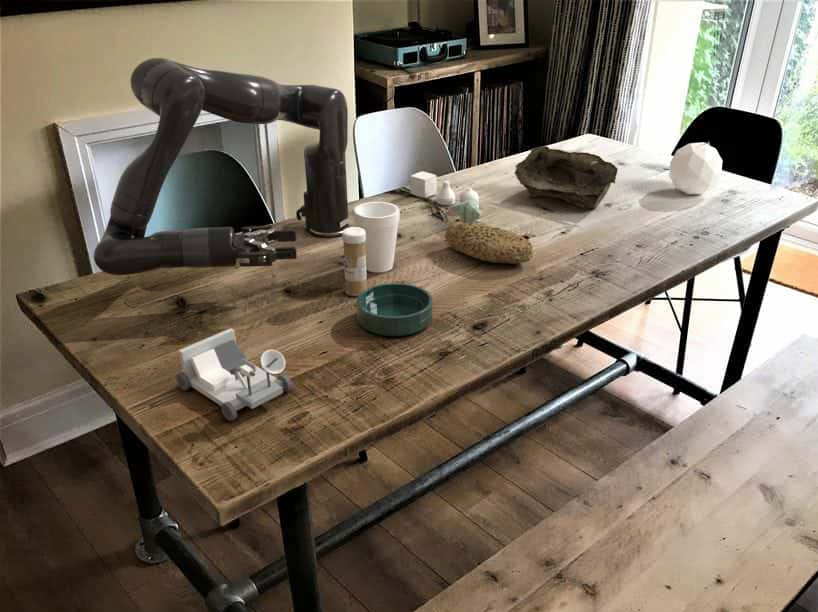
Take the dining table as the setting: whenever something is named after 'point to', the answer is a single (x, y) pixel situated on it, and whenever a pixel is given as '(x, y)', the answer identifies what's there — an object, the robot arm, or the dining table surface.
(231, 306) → the dining table surface
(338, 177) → the robot arm
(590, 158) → the hollow geode rock
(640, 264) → the dining table surface
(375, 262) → the foam cup
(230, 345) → the toy car
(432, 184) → the container set
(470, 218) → the mint green faceted piece
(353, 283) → the sprinkles bottle
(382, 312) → the bowl
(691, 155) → the geodesic sphere
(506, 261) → the sponge
